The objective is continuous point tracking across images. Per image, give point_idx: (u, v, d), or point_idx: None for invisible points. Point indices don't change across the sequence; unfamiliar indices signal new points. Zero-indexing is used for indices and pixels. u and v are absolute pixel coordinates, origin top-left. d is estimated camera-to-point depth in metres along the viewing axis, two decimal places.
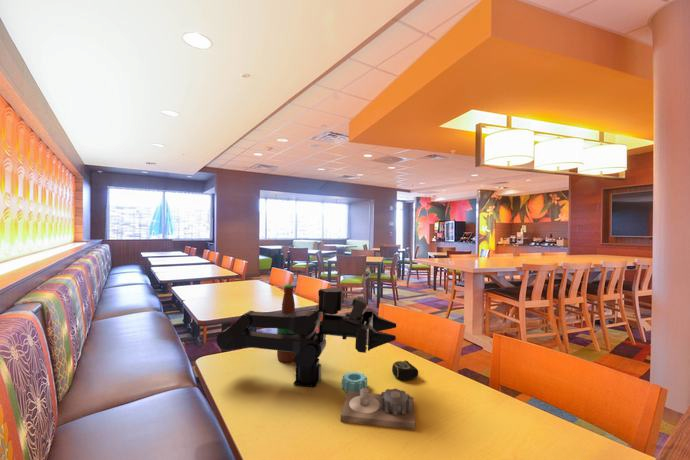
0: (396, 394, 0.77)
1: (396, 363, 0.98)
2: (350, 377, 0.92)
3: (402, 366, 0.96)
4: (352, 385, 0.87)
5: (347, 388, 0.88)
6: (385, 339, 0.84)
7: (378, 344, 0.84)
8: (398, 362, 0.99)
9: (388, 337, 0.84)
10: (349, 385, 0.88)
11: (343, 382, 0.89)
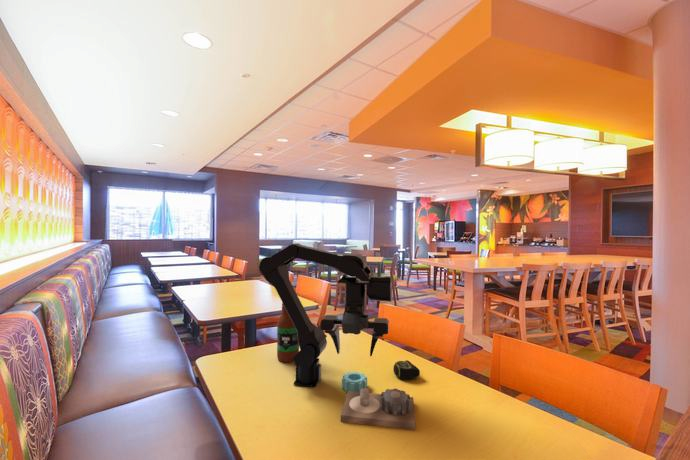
0: (396, 394, 0.77)
1: (397, 363, 0.98)
2: (350, 377, 0.92)
3: (404, 366, 0.96)
4: (352, 385, 0.87)
5: (347, 388, 0.88)
6: None
7: None
8: (399, 362, 0.99)
9: None
10: (349, 385, 0.88)
11: (343, 382, 0.89)
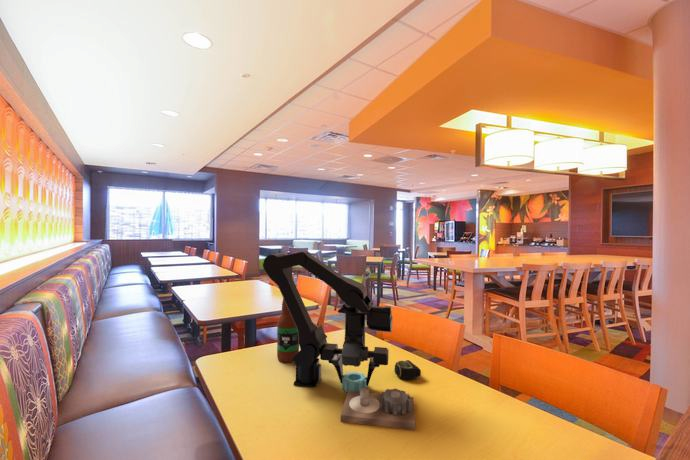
0: (396, 394, 0.77)
1: (398, 363, 0.98)
2: (350, 377, 0.92)
3: (405, 366, 0.96)
4: (352, 385, 0.87)
5: (347, 388, 0.88)
6: None
7: None
8: (400, 362, 0.99)
9: None
10: (349, 385, 0.88)
11: (343, 382, 0.89)
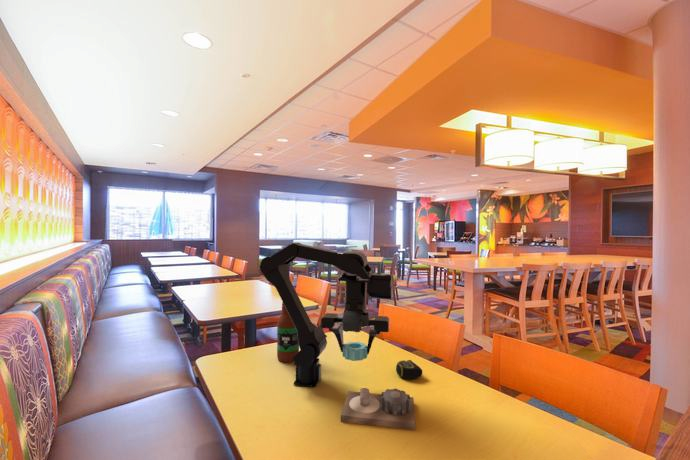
0: (396, 394, 0.77)
1: (400, 362, 0.99)
2: (351, 346, 0.91)
3: (406, 366, 0.97)
4: (353, 353, 0.86)
5: (348, 356, 0.87)
6: None
7: None
8: (402, 361, 0.99)
9: None
10: (350, 353, 0.87)
11: (344, 350, 0.89)
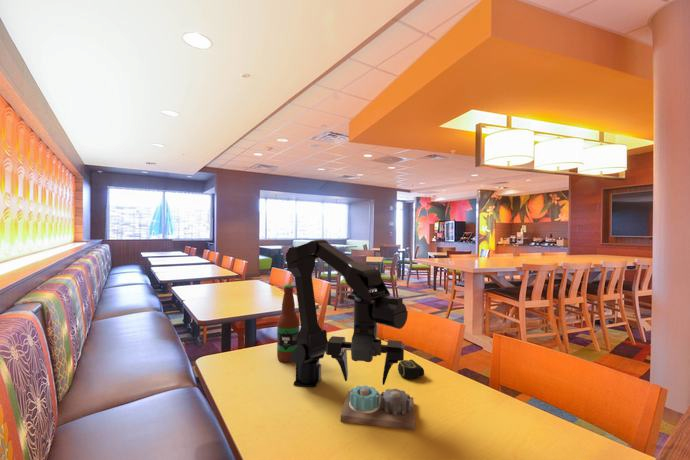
0: (396, 394, 0.77)
1: (402, 362, 0.99)
2: (359, 392, 0.81)
3: (408, 365, 0.97)
4: (362, 402, 0.76)
5: (356, 405, 0.77)
6: None
7: None
8: (404, 361, 1.00)
9: None
10: (359, 402, 0.77)
11: (352, 398, 0.78)
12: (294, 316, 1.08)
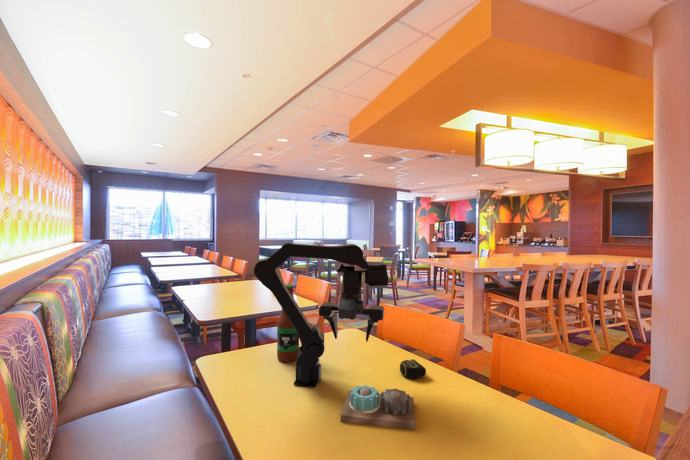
0: (396, 394, 0.77)
1: (404, 362, 0.99)
2: (359, 392, 0.81)
3: (410, 365, 0.97)
4: (362, 402, 0.76)
5: (356, 405, 0.77)
6: None
7: None
8: (406, 361, 1.00)
9: None
10: (359, 402, 0.77)
11: (352, 398, 0.78)
12: None
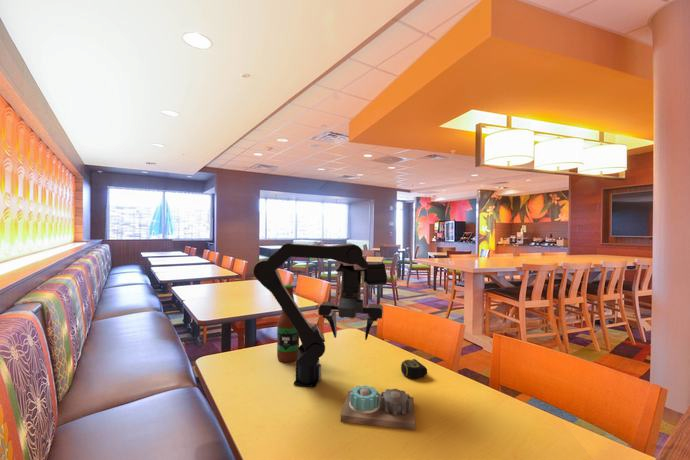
0: (396, 394, 0.77)
1: (405, 362, 0.99)
2: (359, 392, 0.81)
3: (411, 365, 0.97)
4: (362, 402, 0.76)
5: (356, 405, 0.77)
6: None
7: None
8: (407, 361, 1.00)
9: None
10: (359, 402, 0.77)
11: (352, 398, 0.78)
12: None
